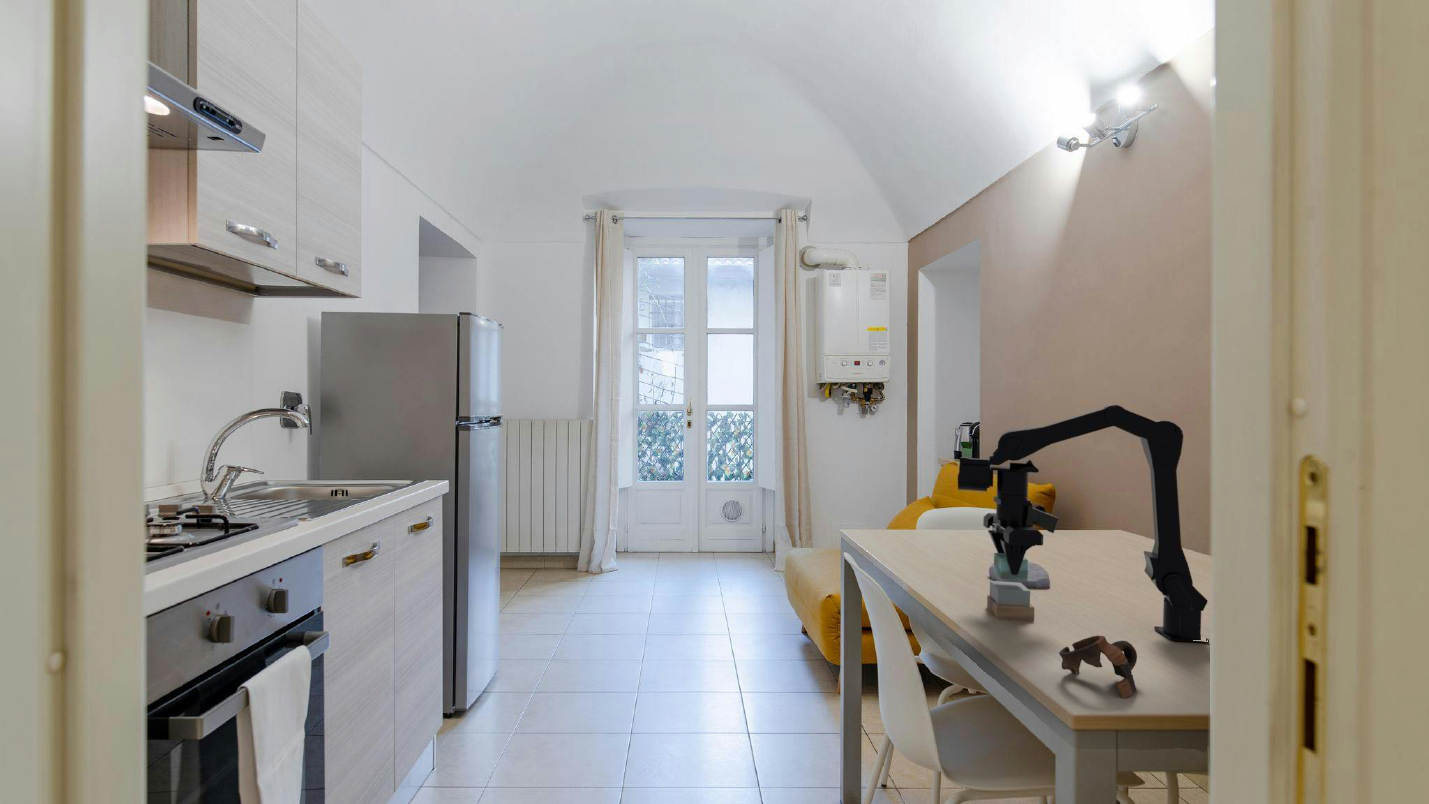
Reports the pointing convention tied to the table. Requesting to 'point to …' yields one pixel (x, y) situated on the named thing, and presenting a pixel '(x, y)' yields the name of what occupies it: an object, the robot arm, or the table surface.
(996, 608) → the walnut base block
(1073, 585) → the table surface
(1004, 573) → the teal block
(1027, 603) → the grey middle block
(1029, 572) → the stone block
